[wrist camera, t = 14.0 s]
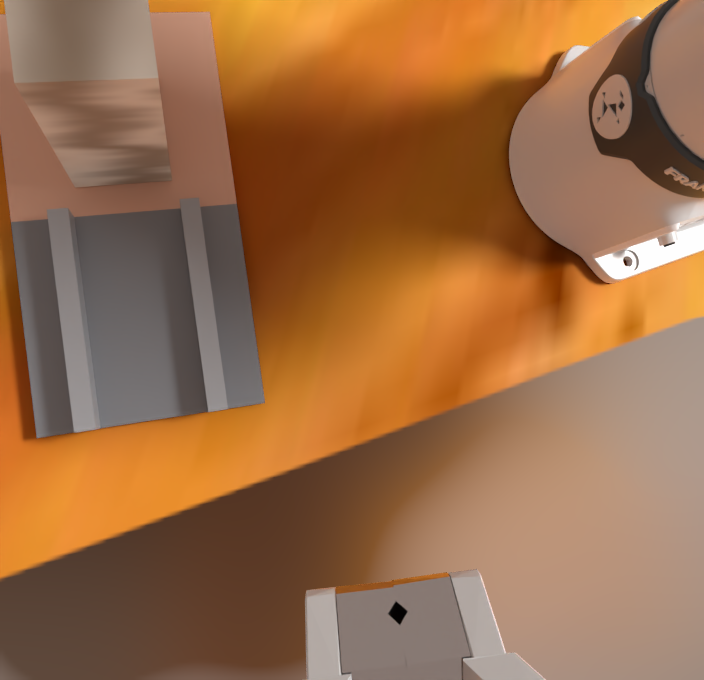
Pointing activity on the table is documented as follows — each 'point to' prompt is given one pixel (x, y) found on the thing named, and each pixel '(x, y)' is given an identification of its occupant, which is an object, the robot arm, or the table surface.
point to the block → (92, 86)
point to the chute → (133, 260)
